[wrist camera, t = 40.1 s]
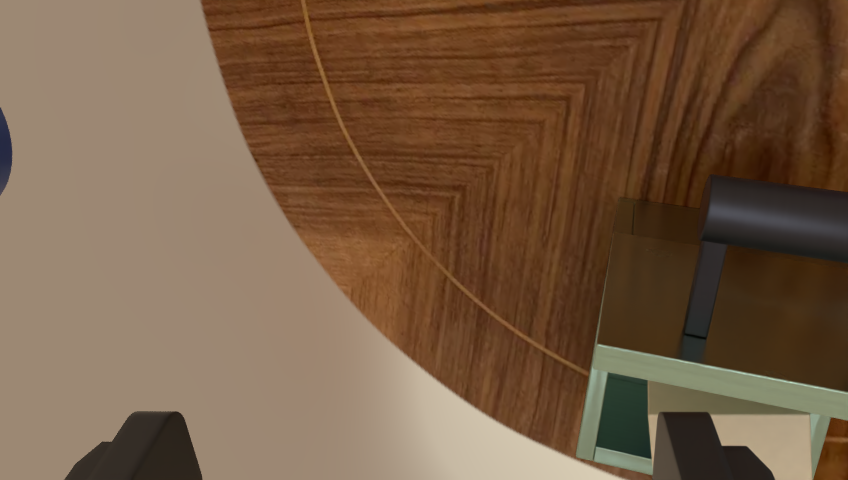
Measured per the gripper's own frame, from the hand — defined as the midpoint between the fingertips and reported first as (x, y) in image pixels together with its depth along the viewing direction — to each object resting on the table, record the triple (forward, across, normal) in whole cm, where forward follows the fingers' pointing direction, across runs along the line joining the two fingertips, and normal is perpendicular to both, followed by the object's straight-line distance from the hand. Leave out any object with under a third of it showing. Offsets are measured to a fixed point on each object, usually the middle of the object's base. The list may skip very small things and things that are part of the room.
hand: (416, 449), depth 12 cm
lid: (+14, +10, -7) cm, 18 cm away
